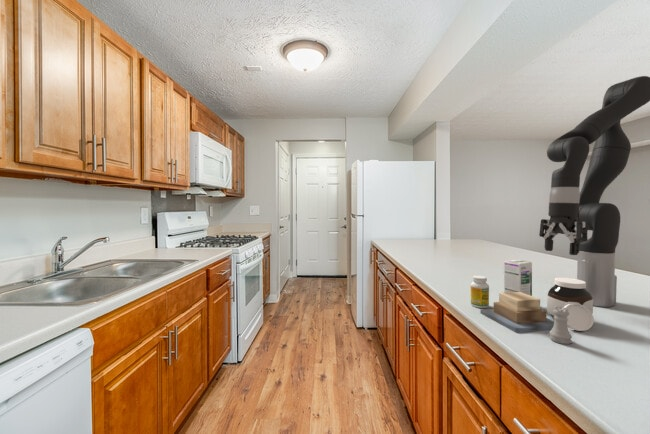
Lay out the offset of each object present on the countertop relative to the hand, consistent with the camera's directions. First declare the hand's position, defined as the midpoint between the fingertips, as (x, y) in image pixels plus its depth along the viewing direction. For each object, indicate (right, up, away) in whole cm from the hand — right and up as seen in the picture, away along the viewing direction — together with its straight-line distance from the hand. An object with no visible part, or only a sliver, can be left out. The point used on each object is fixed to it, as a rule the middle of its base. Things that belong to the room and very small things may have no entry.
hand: (560, 252), depth 95 cm
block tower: (-20, -18, -9) cm, 28 cm away
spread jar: (-7, -19, -12) cm, 23 cm away
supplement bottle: (-24, -18, +3) cm, 30 cm away
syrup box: (-11, -18, +4) cm, 21 cm away
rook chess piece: (-18, -19, -22) cm, 34 cm away
